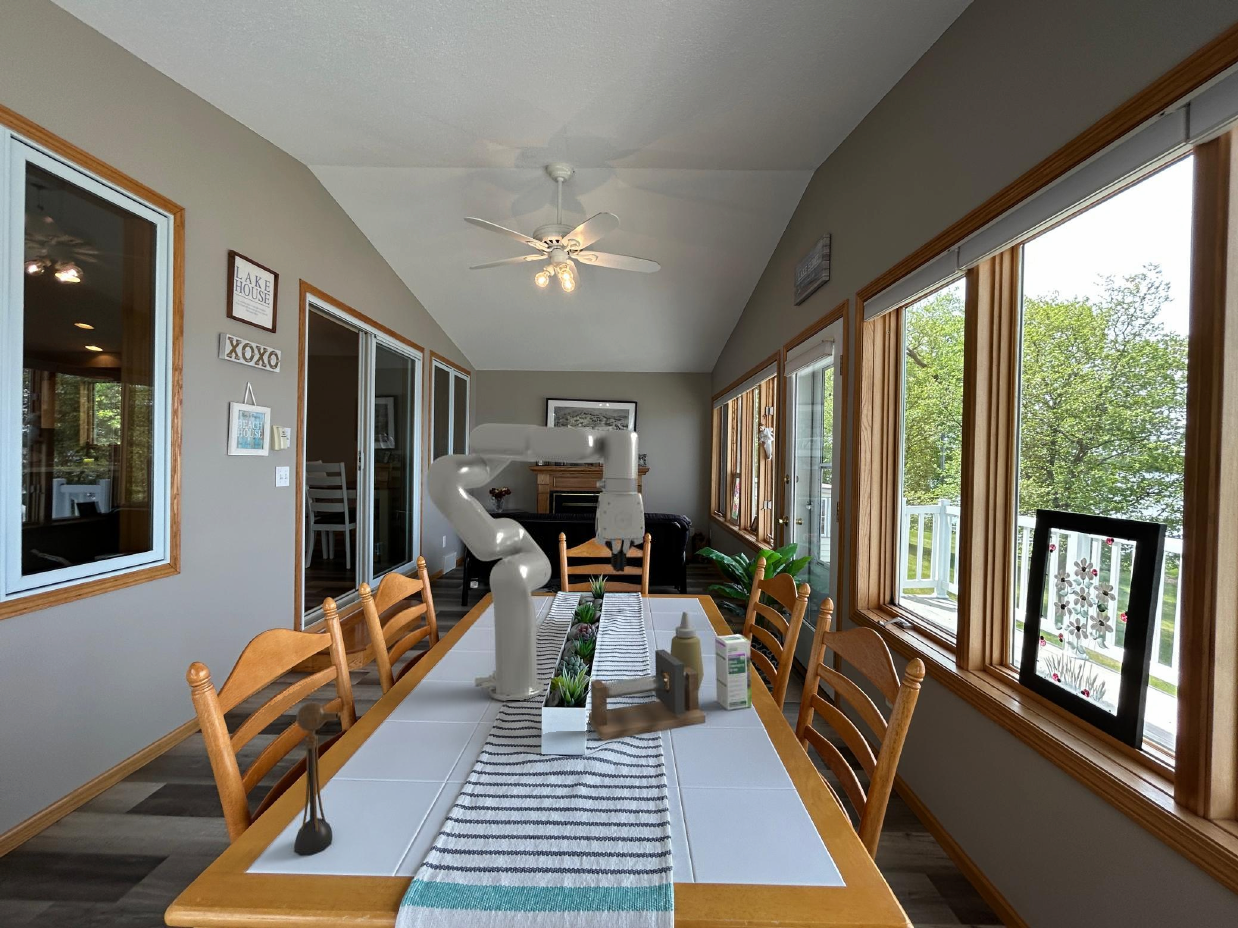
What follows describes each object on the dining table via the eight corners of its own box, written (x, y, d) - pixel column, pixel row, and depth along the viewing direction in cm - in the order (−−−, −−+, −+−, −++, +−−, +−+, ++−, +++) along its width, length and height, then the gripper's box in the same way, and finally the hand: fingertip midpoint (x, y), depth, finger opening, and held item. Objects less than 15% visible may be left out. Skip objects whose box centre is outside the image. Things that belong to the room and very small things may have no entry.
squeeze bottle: (663, 693, 137) (662, 614, 137) (676, 681, 144) (675, 606, 144) (696, 699, 133) (695, 618, 133) (708, 686, 140) (707, 610, 140)
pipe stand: (602, 740, 114) (601, 693, 114) (587, 719, 123) (586, 675, 123) (705, 722, 121) (704, 677, 121) (684, 703, 131) (683, 662, 131)
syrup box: (727, 710, 127) (726, 642, 127) (715, 700, 132) (714, 634, 132) (751, 707, 128) (750, 640, 128) (739, 697, 134) (738, 632, 134)
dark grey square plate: (675, 715, 119) (674, 664, 119) (656, 696, 129) (655, 650, 129) (684, 713, 120) (683, 663, 120) (664, 695, 129) (663, 649, 129)
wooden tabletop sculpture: (345, 833, 87) (343, 695, 87) (331, 854, 82) (328, 708, 82) (304, 834, 86) (301, 696, 86) (287, 855, 82) (284, 709, 82)
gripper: (591, 487, 125) (589, 575, 125) (658, 487, 129) (656, 572, 129) (582, 485, 132) (581, 568, 132) (646, 485, 136) (645, 566, 136)
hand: (618, 570), depth 131 cm, fingers closed
